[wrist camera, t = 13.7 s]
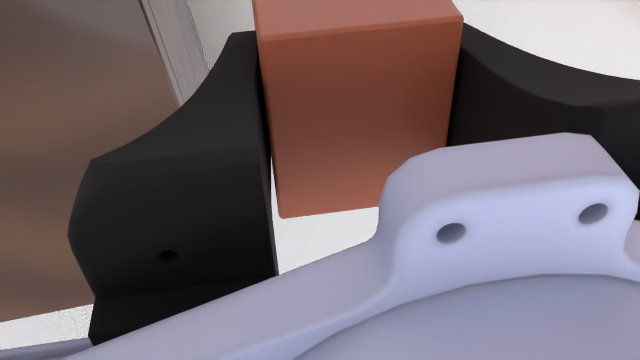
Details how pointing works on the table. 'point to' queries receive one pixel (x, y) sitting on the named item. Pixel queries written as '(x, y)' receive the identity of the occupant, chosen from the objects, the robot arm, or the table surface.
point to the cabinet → (76, 123)
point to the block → (352, 94)
